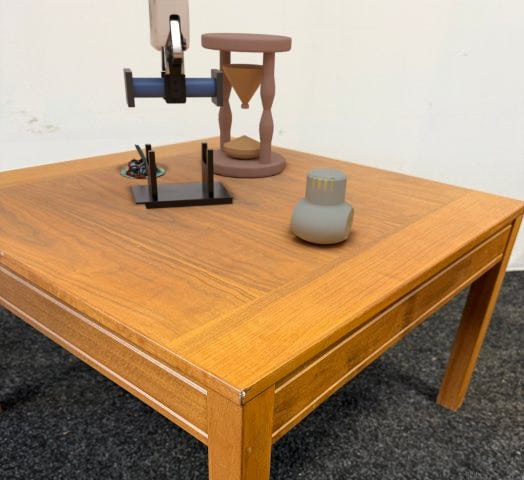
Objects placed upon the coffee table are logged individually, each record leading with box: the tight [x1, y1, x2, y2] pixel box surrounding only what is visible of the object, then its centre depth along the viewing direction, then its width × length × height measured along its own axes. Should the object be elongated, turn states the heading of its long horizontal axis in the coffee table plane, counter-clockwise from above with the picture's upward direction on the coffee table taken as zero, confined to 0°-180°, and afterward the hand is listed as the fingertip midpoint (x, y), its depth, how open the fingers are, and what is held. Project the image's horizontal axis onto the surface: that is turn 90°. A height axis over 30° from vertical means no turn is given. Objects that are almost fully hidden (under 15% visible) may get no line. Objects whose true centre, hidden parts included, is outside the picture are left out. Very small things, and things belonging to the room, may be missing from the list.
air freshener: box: [290, 167, 355, 245], centre depth 83 cm, size 11×8×10 cm
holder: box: [130, 141, 234, 210], centre depth 98 cm, size 17×10×9 cm, turn 106°
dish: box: [120, 144, 166, 180], centre depth 113 cm, size 8×7×8 cm
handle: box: [122, 67, 223, 108], centre depth 85 cm, size 15×5×5 cm, turn 105°
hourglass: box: [200, 32, 293, 179], centre depth 113 cm, size 18×18×25 cm
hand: (174, 100), depth 86 cm, fingers closed on handle, 2 cm apart
